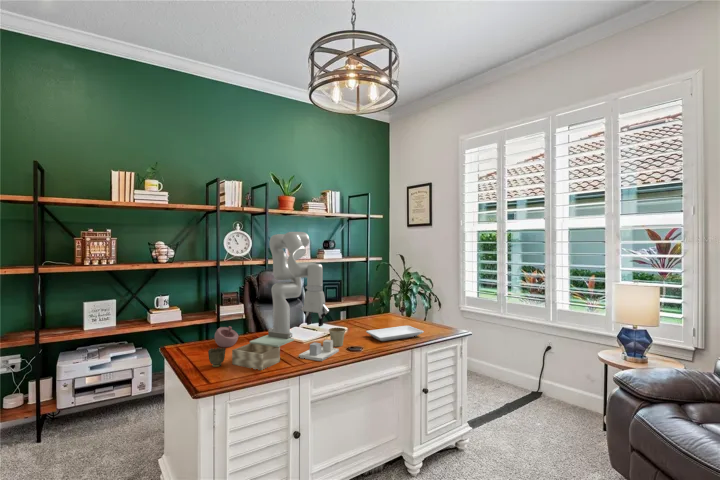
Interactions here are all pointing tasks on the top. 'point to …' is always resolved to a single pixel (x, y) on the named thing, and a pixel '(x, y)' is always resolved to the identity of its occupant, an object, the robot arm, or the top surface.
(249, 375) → the top surface
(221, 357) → the cup
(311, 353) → the grey block
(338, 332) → the flower pot
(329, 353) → the white dish
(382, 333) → the tray
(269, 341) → the lid
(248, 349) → the birch box
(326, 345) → the beige block
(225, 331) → the mortar and pestle
